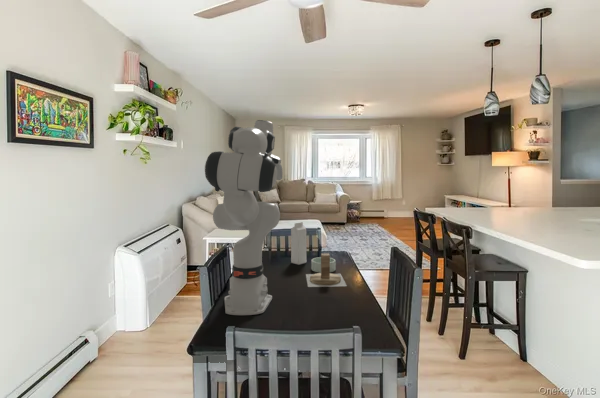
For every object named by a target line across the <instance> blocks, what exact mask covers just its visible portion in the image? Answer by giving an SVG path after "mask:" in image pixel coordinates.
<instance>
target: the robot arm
mask: <svg viewBox="0 0 600 398" xmlns="http://www.w3.org/2000/svg"><path fill="white" fill-rule="evenodd" d="M253 126H254V127H249V126H248V127H244V128H243V127H242V126H234V127H233V128H231V129H230V132H229V134H228V138H227V139H228V140H227V141H228V142H227V145H228V148H229V149H230V150H231V151H233V152H224V151H221V150H220V151H213V152H210V154H209V155H208V156H207V159H206V161H205V164H204V175H205V178H206V180H207V182H208V183H209V184H210V185H211V186H212V187H213V188H214V189H215V192H220V191H222V192H223V201H222V203H219V204H217V205H216V206H215V208H214V210H213V213H212V219H213V220H212V221H213V224H214V225H215V226H216V228H218V229H221V230H226V231H248V235H247V236H245V237H243V238H241V239H239V240H238V241H236V242H234V243H235V244H234V245H233V249H232V251H233V252H232V254H233V257H232V258H233V260H232V261H233V264H232V269H231V270H232V271H231V272H232V273H231V275H232V276H231V277H229V290H228V291H227V294H228V295H226V296H224V309H225V310H224V311H225V314H227V315H231V316H252V315H259V314H263V313H264V312H265V311H266V310H267V308H268V307H269V305H270V303H271V301H272V299H273V295H271V294H268V293H269V292H268V277H266V276H265V275H264V264H263V262H262V261H263V258H262V257H263V246H264V241H265V239H266V237H267V236H268V234H269V233H271V231H272V230H273V229H275V228H276V227H277V226H278V224H279V223H280V221H281V213H280V209H279V207H278V206H277V205H276V204H275V203H273V202H267V201H258V200H257V197H256V196H255V195H254V193H253V192H259V193H265V192H267V193H268V192H270V191H272V190H273V187H274V186H275V185H276V183H277V181H281V180H282V179H283V166H282V158H281V157H280V156H277V155H275V154H273V150H274V149H275V141H276V136H275V135H274V123H273V122H272V121H270V120H263V119H262V120H261V119H257V120H255V122H254V125H253Z"/></svg>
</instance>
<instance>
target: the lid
mask: <svg viewBox="0 0 600 398" xmlns="http://www.w3.org/2000/svg"><path fill="white" fill-rule="evenodd" d="M320 257H321V273H319V272H316V273H312V274H313V275H311V276H310V281H311V282H312V283H315V284H319V285H333V284H337V283H339V282H340V281H341V277H340V276H339V275H336V274H337V273H333V272H330V258H331V256H330V253H329V252H327V253H324V252H323V253H320Z"/></svg>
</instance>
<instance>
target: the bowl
mask: <svg viewBox="0 0 600 398" xmlns="http://www.w3.org/2000/svg"><path fill="white" fill-rule="evenodd" d="M310 260H311V271H313V272H314V273H321V256H319V257H318V256H317V257H314V258H312V259H310ZM336 266H337V261H336V259H335V258H333V257H330V273H333V272H335V271H336V270H337V268H336Z"/></svg>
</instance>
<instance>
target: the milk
mask: <svg viewBox="0 0 600 398" xmlns="http://www.w3.org/2000/svg"><path fill="white" fill-rule="evenodd" d="M290 249H291V250H290V252H291V253H290V256H291V258H290V261H291V262H290V263H291V264H295V265H298V266H299V265H303V264H306V263H307V228H306V227H305V225H304V223H303V222H294V225H293V226H292V227H291V228H290Z"/></svg>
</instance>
